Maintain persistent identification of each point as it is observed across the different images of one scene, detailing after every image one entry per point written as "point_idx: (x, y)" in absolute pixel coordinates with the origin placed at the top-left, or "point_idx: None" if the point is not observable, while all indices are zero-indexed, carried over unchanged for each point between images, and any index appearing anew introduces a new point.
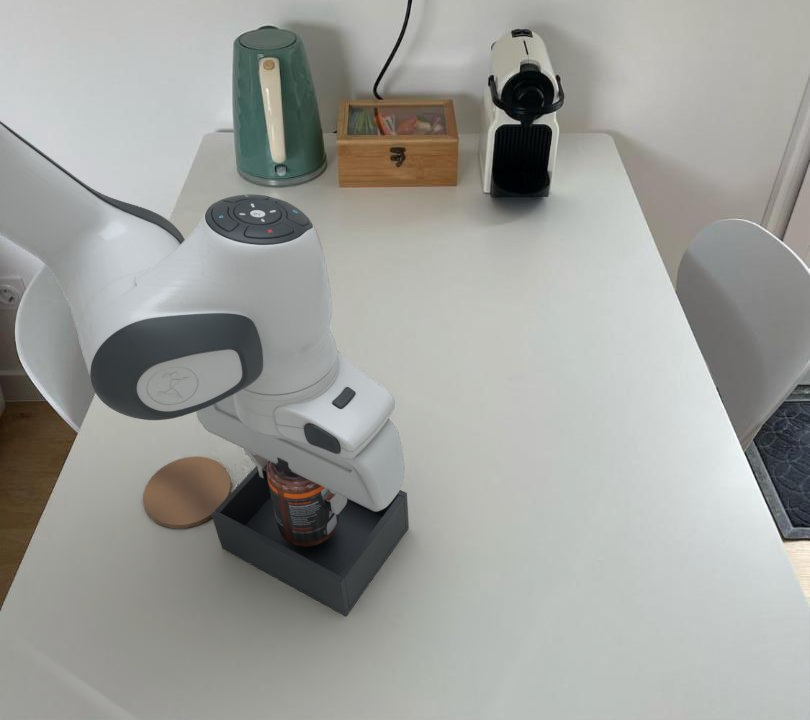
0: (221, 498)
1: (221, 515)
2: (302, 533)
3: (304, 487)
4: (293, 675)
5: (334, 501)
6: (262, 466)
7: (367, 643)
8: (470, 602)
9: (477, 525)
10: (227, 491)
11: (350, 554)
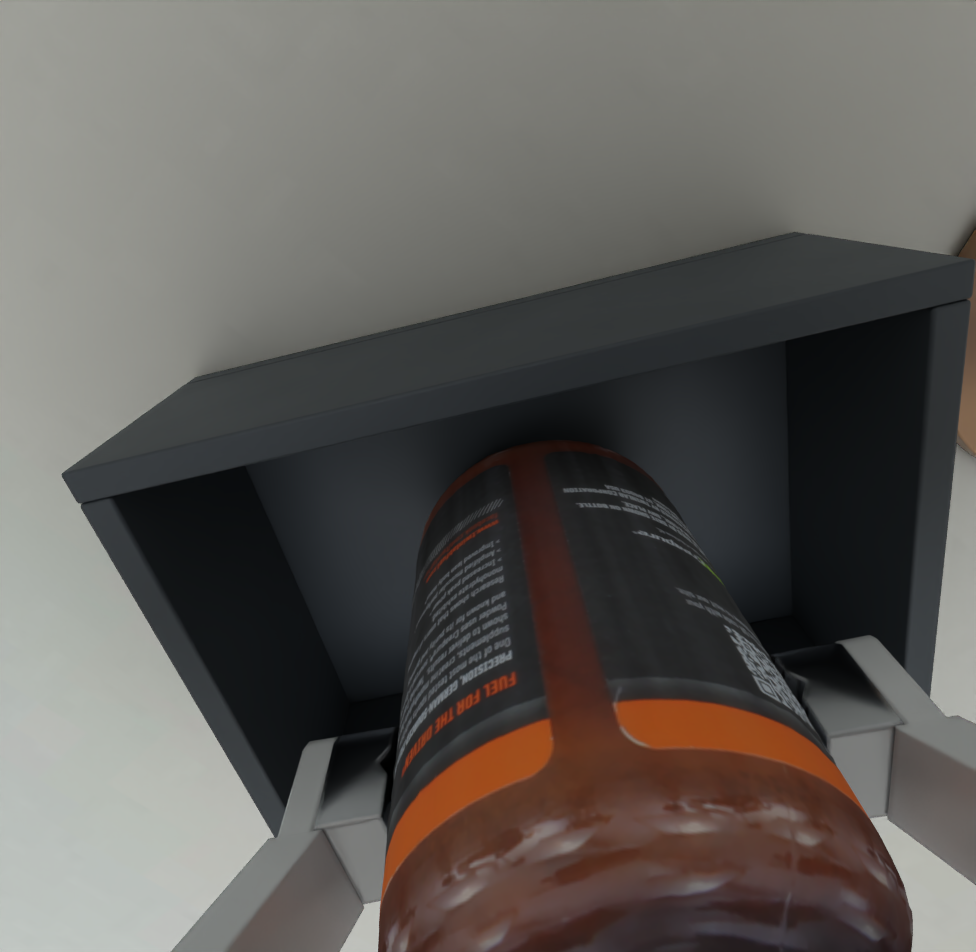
0: (962, 384)
1: (910, 300)
2: (459, 523)
3: (417, 921)
4: (88, 41)
5: (264, 869)
6: (909, 742)
7: (54, 359)
8: (9, 660)
9: (220, 809)
10: (960, 421)
11: (378, 546)
